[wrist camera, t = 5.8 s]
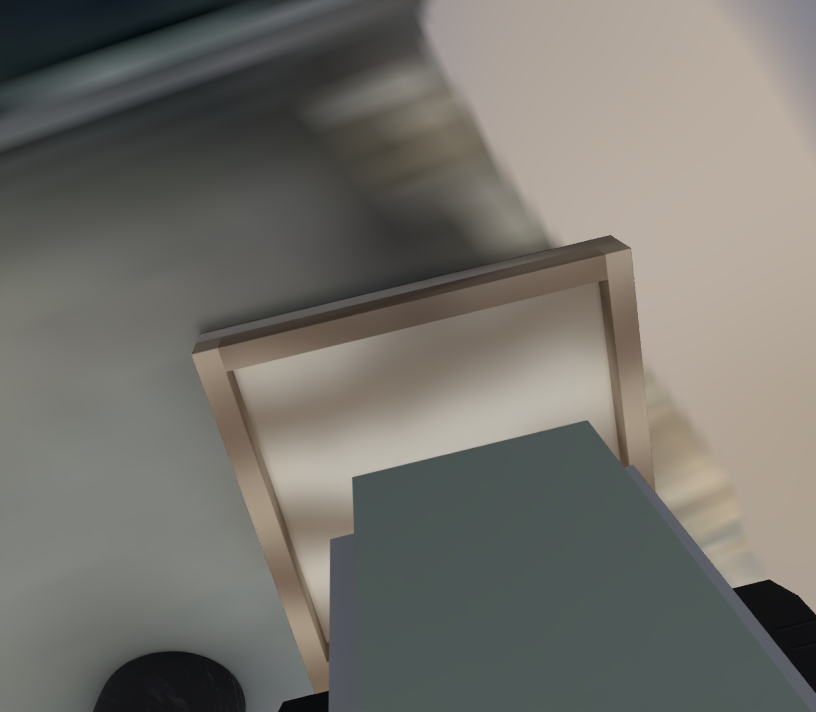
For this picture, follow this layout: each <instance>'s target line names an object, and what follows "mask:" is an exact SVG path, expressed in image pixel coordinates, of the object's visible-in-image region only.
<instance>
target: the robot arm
mask: <svg viewBox="0 0 816 712" xmlns="http://www.w3.org/2000/svg"><path fill="white" fill-rule="evenodd" d="M624 468H625V469H626V471H627V472H628V473H629V475H630V476H631V477H632V479H633V480H634V481H635V482H636V484H637V485H638V486H639V488H640V489H641V490H642V492H643V493H644V494H645V495H646V497H647V498H648V499H649V501H650V502H651V503H652V505H653V506H654V507H655V508H656V510H657V511H658V512H659V514H660V515H661V516H662V518H663V519H664V520H665V521H666V523H667V524H668V525H669V527H670V528H671V529H672V531H673V532H674V533H675V535H676V536H677V537H678V538H679V540H680V541H681V542H682V544H683V545H684V546H685V548H686V549H687V550H688V551H689V553H690V554H691V555H692V557H693V558H694V559H695V561H696V562H697V563H698V564H699V566H700V567H701V568H702V570H703V571H704V572H705V574H706V575H707V576H708V577H709V579H710V580H711V581H712V583H713V584H714V585H715V587H716V588H717V589H718V591H719V592H720V593H721V594H722V596H723V597H724V598H725V600H726V601H727V602H728V604H729V605H730V606H731V607H732V609H733V610H734V611H735V613H736V614H737V615H738V617H739V618H740V619H741V620H742V622H743V623H744V624H745V626H746V627H747V628H748V630H749V631H750V632H751V634H752V635H753V636H754V637H755V639H756V640H757V641H758V643H759V644H760V645H761V647H762V648H763V649H764V650H765V652H766V653H767V654H768V656H769V657H770V658H771V660H772V661H773V662H774V663H775V665H776V666H777V667H778V669H779V670H780V671H781V673H782V674H783V675H784V676H785V678H786V679H787V680H788V682H789V683H790V684H791V686H792V687H793V688H794V690H795V691H796V692H797V693H798V695H799V696H800V697H801V699H802V700H803V701H804V703H805V704H806V705H807V706H808V708H809V709H810V710H811V712H816V615H815V613H814V612H813V611H812V610H811V609H810V608H809V607H808V606H807V605H806V604H805V603H804V601H803V600H802V599H801V598H800V597H799V596H798V595H796V594H794V593H792V592H791V591H789V590H787V589H785V588H784V587H782V586H780V585H778V584H776V583H775V582H773V581H771V580H765V581H761V582H757V583H753V584H749V585H745V586H741V587H737V588H733V589H732V588H731V587H730V585H729V584H728V583H727V582H726V580H725V579H724V578H723V577H722V575H721V574H720V573H719V572H718V570H717V569H716V568H715V567H714V565H713V564H712V563H711V561H710V560H709V559H708V558H707V556H706V555H705V554H704V553H703V551H702V550H701V549H700V548H699V546H698V545H697V544H696V543H695V541H694V540H693V539H692V538H691V536H690V535H689V534H688V533H687V531H686V530H685V529H684V528H683V526H682V525H681V524H680V523H679V521H678V520H677V519H676V518H675V516H674V515H673V514H672V513H671V511H670V510H669V509H668V508H667V506H666V505H665V504H664V503H663V501H662V500H661V499H660V498H659V496H658V495H657V494H656V493H655V491H654V490H653V489H652V488H651V486H650V485H649V484H648V483H647V481H646V480H645V479H644V478H643V476H642V475H641V474H640V473H639V471H638V470H637V469H636V467H635V466H634V465H630V466H626V467H624ZM278 712H361V708H360V681H359V654H358V626H357V599H356V572H355V545H354V533H353V534H349V535H345V536H341V537H337V538H333V539H330V616H329V691H325V692H321V693H317V694H313V695H309V696H305V697H301V698H297V699H293V700H289V701H285V702H283V704H282V705H281V707H280V709H279V711H278Z"/></svg>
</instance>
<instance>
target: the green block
mask: <svg viewBox="0 0 816 712" xmlns="http://www.w3.org/2000/svg"><path fill="white" fill-rule="evenodd" d="M352 490H353V517H354V545H355V572H356V599H357V626H358V654H359V681H360V708H361V712H811V710H810V709H809V708H808V706H807V705H806V704H805V703H804V701H803V700H802V699H801V697H800V696H799V695H798V693H797V692H796V691H795V690H794V688H793V687H792V686H791V684H790V683H789V682H788V680H787V679H786V678H785V676H784V675H783V674H782V673H781V671H780V670H779V669H778V667H777V666H776V665H775V663H774V662H773V661H772V660H771V658H770V657H769V656H768V654H767V653H766V652H765V650H764V649H763V648H762V647H761V645H760V644H759V643H758V641H757V640H756V639H755V637H754V636H753V635H752V634H751V632H750V631H749V630H748V628H747V627H746V626H745V624H744V623H743V622H742V620H741V619H740V618H739V617H738V615H737V614H736V613H735V611H734V610H733V609H732V607H731V606H730V605H729V604H728V602H727V601H726V600H725V598H724V597H723V596H722V594H721V593H720V592H719V591H718V589H717V588H716V587H715V585H714V584H713V583H712V581H711V580H710V579H709V577H708V576H707V575H706V574H705V572H704V571H703V570H702V568H701V567H700V566H699V564H698V563H697V562H696V561H695V559H694V558H693V557H692V555H691V554H690V553H689V551H688V550H687V549H686V548H685V546H684V545H683V544H682V542H681V541H680V540H679V538H678V537H677V536H676V535H675V533H674V532H673V531H672V529H671V528H670V527H669V525H668V524H667V523H666V521H665V520H664V519H663V518H662V516H661V515H660V514H659V512H658V511H657V510H656V508H655V507H654V506H653V505H652V503H651V502H650V501H649V499H648V498H647V497H646V495H645V494H644V493H643V492H642V490H641V489H640V488H639V486H638V485H637V484H636V482H635V481H634V480H633V479H632V477H631V476H630V475H629V473H628V472H627V471H626V469H625V468H624V467H623V465H622V464H621V463H620V462H619V460H618V459H617V458H616V456H615V455H614V454H613V452H612V451H611V450H610V449H609V447H608V446H607V445H606V443H605V442H604V441H603V439H602V438H601V437H600V436H599V434H598V433H597V432H596V430H595V429H594V428H593V426H592V425H591V424H590V422H589V421H588V420H586V421H581V422H577V423H573V424H569V425H565V426H561V427H557V428H553V429H548V430H544V431H540V432H536V433H532V434H528V435H524V436H520V437H516V438H511V439H507V440H503V441H499V442H495V443H491V444H487V445H483V446H478V447H474V448H470V449H466V450H462V451H458V452H454V453H450V454H445V455H441V456H437V457H433V458H429V459H425V460H421V461H417V462H412V463H408V464H404V465H400V466H396V467H392V468H388V469H384V470H380V471H375V472H371V473H367V474H363V475H359V476H355V477H352Z"/></svg>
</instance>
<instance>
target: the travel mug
mask: <svg viewBox="0 0 816 712" xmlns="http://www.w3.org/2000/svg"><path fill="white" fill-rule="evenodd" d="M93 712H245V699H244V695H243V692H242V689H241V687H240V685H239V683H238V682H237V681H236V679H235V678H234V677H233V676H232V675H231V674H230V673H229V672H228V671H227V670H226V669H225V668H223V667H222V666H220V665H219V664H217V663H215V662H213V661H211V660H209V659H207V658H204V657H201V656H198V655H193V654H188V653H180V652H166V653H157V654H151V655H147V656H144V657H141V658H138V659H136V660H134V661H131V662H130V663H128V664H126V665H124V666H123V667H122V668H120V669H119V670H118V671H117V672H116V673H115V674H114V675H113V676H112V677H111V678H110V679H109V680H108V682H107V683H106V684H105V686H104V688H103V690H102V692H101V694H100V696H99V699H98V701H97V703H96V706H95V708H94V711H93Z"/></svg>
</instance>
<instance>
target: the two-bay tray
mask: <svg viewBox="0 0 816 712" xmlns="http://www.w3.org/2000/svg"><path fill="white" fill-rule="evenodd" d="M192 357H193V360H194V363H195V366H196V368H197V371H198V374H199V377H200V379H201V382H202V385H203V388H204V390H205V393H206V396H207V398H208V401H209V404H210V407H211V409H212V412H213V415H214V418H215V420H216V423H217V426H218V429H219V431H220V434H221V437H222V440H223V442H224V445H225V448H226V451H227V453H228V456H229V459H230V462H231V464H232V467H233V470H234V472H235V475H236V478H237V481H238V483H239V486H240V489H241V492H242V494H243V497H244V500H245V503H246V505H247V508H248V511H249V514H250V516H251V519H252V522H253V525H254V527H255V530H256V533H257V536H258V538H259V541H260V544H261V546H262V549H263V552H264V555H265V557H266V560H267V563H268V566H269V568H270V571H271V574H272V577H273V579H274V582H275V585H276V588H277V590H278V593H279V596H280V599H281V601H282V604H283V607H284V610H285V612H286V615H287V618H288V621H289V623H290V626H291V629H292V631H293V634H294V637H295V640H296V642H297V645H298V648H299V651H300V653H301V656H302V659H303V662H304V664H305V667H306V670H307V673H308V675H309V678H310V681H311V684H312V686H313V689H314V692H315V694H317V693H321V692H325V691H329V616H330V539H333V538H337V537H341V536H345V535H349V534H353V533H354V517H353V490H352V477H355V476H359V475H363V474H367V473H371V472H375V471H380V470H384V469H388V468H392V467H396V466H400V465H404V464H408V463H412V462H417V461H421V460H425V459H429V458H433V457H437V456H441V455H445V454H450V453H454V452H458V451H462V450H466V449H470V448H474V447H478V446H483V445H487V444H491V443H495V442H499V441H503V440H507V439H511V438H516V437H520V436H524V435H528V434H532V433H536V432H540V431H544V430H548V429H553V428H557V427H561V426H565V425H569V424H573V423H577V422H581V421H586V420H588V421H589V422H590V424H591V425H592V426H593V428H594V429H595V430H596V432H597V433H598V434H599V436H600V437H601V438H602V439H603V441H604V442H605V443H606V445H607V446H608V447H609V449H610V450H611V451H612V452H613V454H614V455H615V456H616V458H617V459H618V460H619V462H620V463H621V464H622V465H623V467H626V466H630V465H634V466H635V467H636V469H637V470H638V471H639V473H640V474H641V475H642V476H643V478H644V479H645V480H646V481H647V483H648V484H649V485H650V486H651V488H652V489H653V490H654V491H655V484H654V474H653V464H652V454H651V444H650V434H649V424H648V414H647V404H646V393H645V383H644V373H643V363H642V353H641V343H640V334H639V323H638V313H637V303H636V293H635V283H634V273H633V262H632V252H631V248H630V247H628V246H627V245H625V244H623V243H622V242H620V241H619V240H617V239H615V238H614V237H612V236H611V235H609V236H606V237H601V238H597V239H593V240H588V241H584V242H580V243H576V244H572V245H568V246H564V247H559V248H555V249H551V250H547V251H543V252H539V253H535V254H530V255H526V256H522V257H518V258H514V259H510V260H506V261H502V262H497V263H493V264H489V265H485V266H481V267H477V268H473V269H468V270H464V271H460V272H456V273H452V274H448V275H444V276H439V277H435V278H431V279H427V280H423V281H419V282H415V283H410V284H406V285H402V286H398V287H394V288H390V289H386V290H381V291H377V292H373V293H369V294H365V295H361V296H357V297H352V298H348V299H344V300H340V301H336V302H332V303H328V304H323V305H319V306H315V307H311V308H307V309H303V310H299V311H294V312H290V313H286V314H282V315H278V316H274V317H270V318H265V319H261V320H257V321H253V322H249V323H245V324H241V325H236V326H232V327H228V328H224V329H220V330H216V331H212V332H208V333H203V334H201V335H200V337H199V339H198V341H197V343H196V346H195V348H194V350H193V352H192Z"/></svg>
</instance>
